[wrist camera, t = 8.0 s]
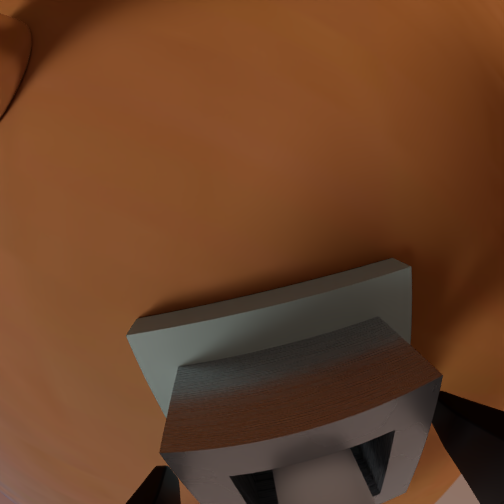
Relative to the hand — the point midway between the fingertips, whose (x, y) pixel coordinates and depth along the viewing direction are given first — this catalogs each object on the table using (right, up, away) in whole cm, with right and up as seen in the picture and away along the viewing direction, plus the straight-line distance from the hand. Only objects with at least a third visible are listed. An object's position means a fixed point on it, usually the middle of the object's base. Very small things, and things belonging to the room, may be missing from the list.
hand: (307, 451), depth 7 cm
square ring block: (0, 0, +2) cm, 2 cm away
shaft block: (0, +1, +3) cm, 3 cm away
